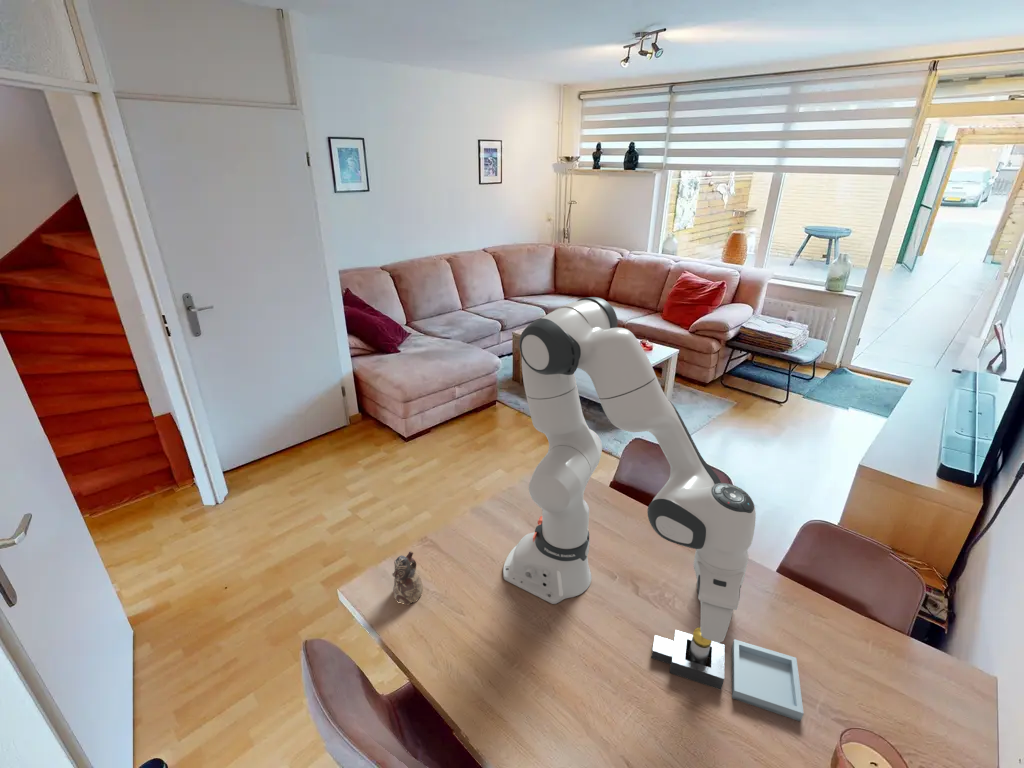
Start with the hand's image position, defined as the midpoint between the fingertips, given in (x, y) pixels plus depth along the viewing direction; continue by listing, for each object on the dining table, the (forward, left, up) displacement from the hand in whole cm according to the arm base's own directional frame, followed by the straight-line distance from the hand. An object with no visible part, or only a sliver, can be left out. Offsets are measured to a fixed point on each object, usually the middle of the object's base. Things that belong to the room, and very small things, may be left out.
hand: (709, 616), depth 98 cm
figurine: (-67, -6, -15) cm, 69 cm away
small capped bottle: (0, 0, -15) cm, 15 cm away
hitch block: (-2, 0, -15) cm, 15 cm away
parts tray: (+13, +1, -15) cm, 19 cm away
